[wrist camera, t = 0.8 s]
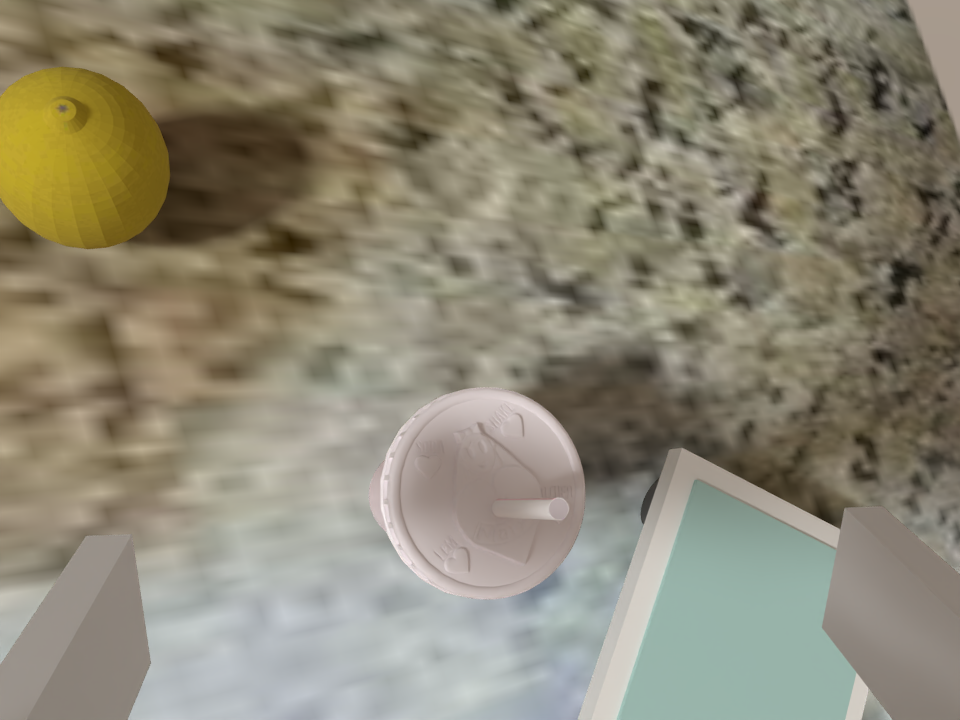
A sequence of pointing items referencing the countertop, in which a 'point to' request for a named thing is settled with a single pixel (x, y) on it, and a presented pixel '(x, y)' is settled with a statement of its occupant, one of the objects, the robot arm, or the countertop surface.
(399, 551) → the smoothie
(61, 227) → the lemon
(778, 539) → the tray
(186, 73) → the countertop surface
